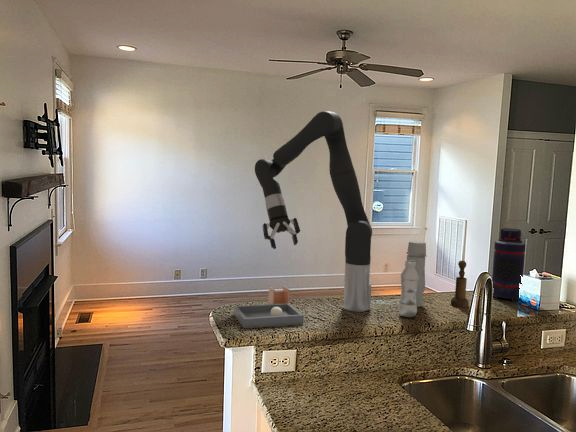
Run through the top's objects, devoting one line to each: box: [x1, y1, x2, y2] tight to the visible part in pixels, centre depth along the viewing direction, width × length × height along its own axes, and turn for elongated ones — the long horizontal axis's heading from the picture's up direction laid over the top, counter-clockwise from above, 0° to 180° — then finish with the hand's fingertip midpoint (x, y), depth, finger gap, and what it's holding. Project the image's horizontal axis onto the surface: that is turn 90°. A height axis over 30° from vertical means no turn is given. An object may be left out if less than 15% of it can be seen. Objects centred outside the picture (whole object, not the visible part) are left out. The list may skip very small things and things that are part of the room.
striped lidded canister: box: [491, 227, 526, 302], centre depth 199 cm, size 14×12×30 cm
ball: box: [271, 307, 282, 316], centre depth 155 cm, size 4×4×4 cm
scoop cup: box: [268, 285, 290, 304], centre depth 171 cm, size 6×6×8 cm
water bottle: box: [406, 240, 428, 308], centre depth 181 cm, size 9×8×25 cm
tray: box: [233, 302, 305, 329], centre depth 156 cm, size 20×15×3 cm
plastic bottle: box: [397, 260, 419, 318], centre depth 165 cm, size 6×7×20 cm
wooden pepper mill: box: [450, 260, 470, 308], centre depth 183 cm, size 7×6×18 cm
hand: (285, 246), depth 180 cm, fingers open, 8 cm apart
